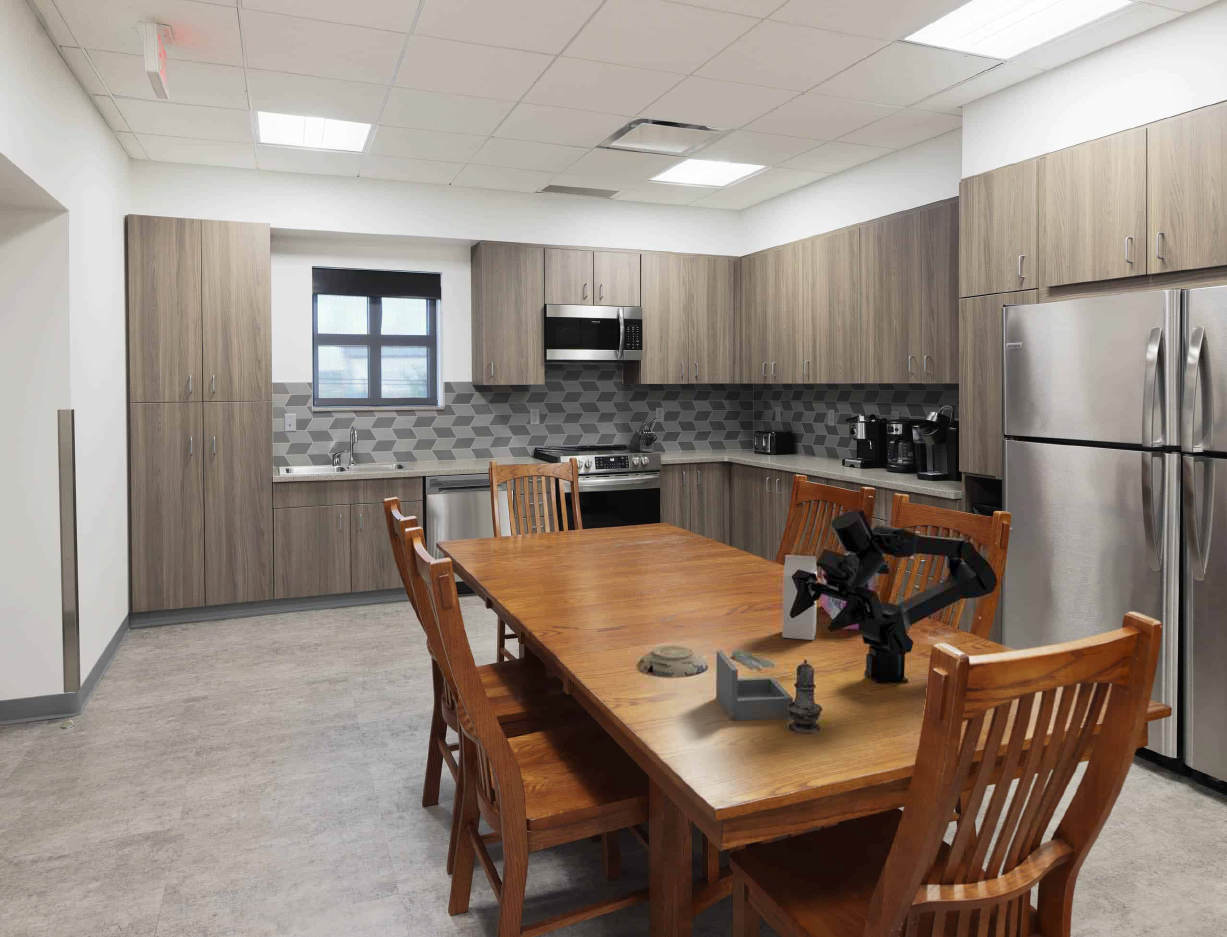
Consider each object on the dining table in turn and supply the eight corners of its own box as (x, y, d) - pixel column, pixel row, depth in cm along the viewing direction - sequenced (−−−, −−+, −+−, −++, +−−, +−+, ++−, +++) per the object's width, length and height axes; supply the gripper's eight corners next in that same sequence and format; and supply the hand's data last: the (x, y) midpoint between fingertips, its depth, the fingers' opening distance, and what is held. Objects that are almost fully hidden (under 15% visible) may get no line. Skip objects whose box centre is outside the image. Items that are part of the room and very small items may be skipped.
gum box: (874, 631, 198) (876, 576, 197) (841, 631, 199) (843, 575, 198) (849, 606, 222) (850, 556, 221) (819, 606, 223) (821, 556, 221)
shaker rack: (773, 695, 156) (773, 648, 155) (792, 717, 145) (793, 667, 144) (716, 697, 155) (716, 651, 154) (731, 720, 144) (732, 670, 143)
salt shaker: (828, 732, 139) (830, 662, 138) (797, 736, 137) (798, 666, 136) (810, 719, 144) (812, 652, 143) (780, 723, 143) (781, 655, 142)
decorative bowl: (718, 663, 177) (653, 652, 183) (718, 646, 176) (654, 636, 183) (693, 685, 163) (625, 673, 170) (693, 667, 163) (625, 655, 170)
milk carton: (813, 640, 191) (814, 559, 189) (782, 638, 193) (783, 558, 191) (816, 632, 197) (817, 554, 196) (785, 629, 200) (787, 552, 198)
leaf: (801, 691, 162) (801, 686, 162) (765, 693, 160) (765, 688, 160) (762, 654, 181) (762, 650, 181) (729, 655, 180) (730, 651, 180)
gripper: (807, 529, 164) (758, 578, 157) (887, 548, 149) (836, 603, 142) (824, 572, 169) (777, 621, 162) (903, 594, 154) (855, 649, 147)
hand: (809, 623), depth 153 cm, fingers open, 9 cm apart
